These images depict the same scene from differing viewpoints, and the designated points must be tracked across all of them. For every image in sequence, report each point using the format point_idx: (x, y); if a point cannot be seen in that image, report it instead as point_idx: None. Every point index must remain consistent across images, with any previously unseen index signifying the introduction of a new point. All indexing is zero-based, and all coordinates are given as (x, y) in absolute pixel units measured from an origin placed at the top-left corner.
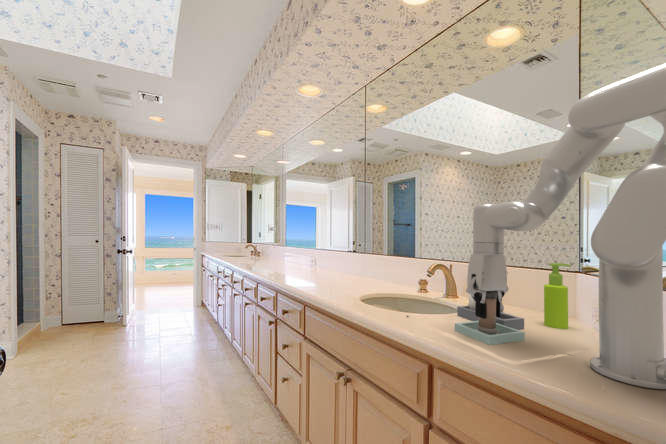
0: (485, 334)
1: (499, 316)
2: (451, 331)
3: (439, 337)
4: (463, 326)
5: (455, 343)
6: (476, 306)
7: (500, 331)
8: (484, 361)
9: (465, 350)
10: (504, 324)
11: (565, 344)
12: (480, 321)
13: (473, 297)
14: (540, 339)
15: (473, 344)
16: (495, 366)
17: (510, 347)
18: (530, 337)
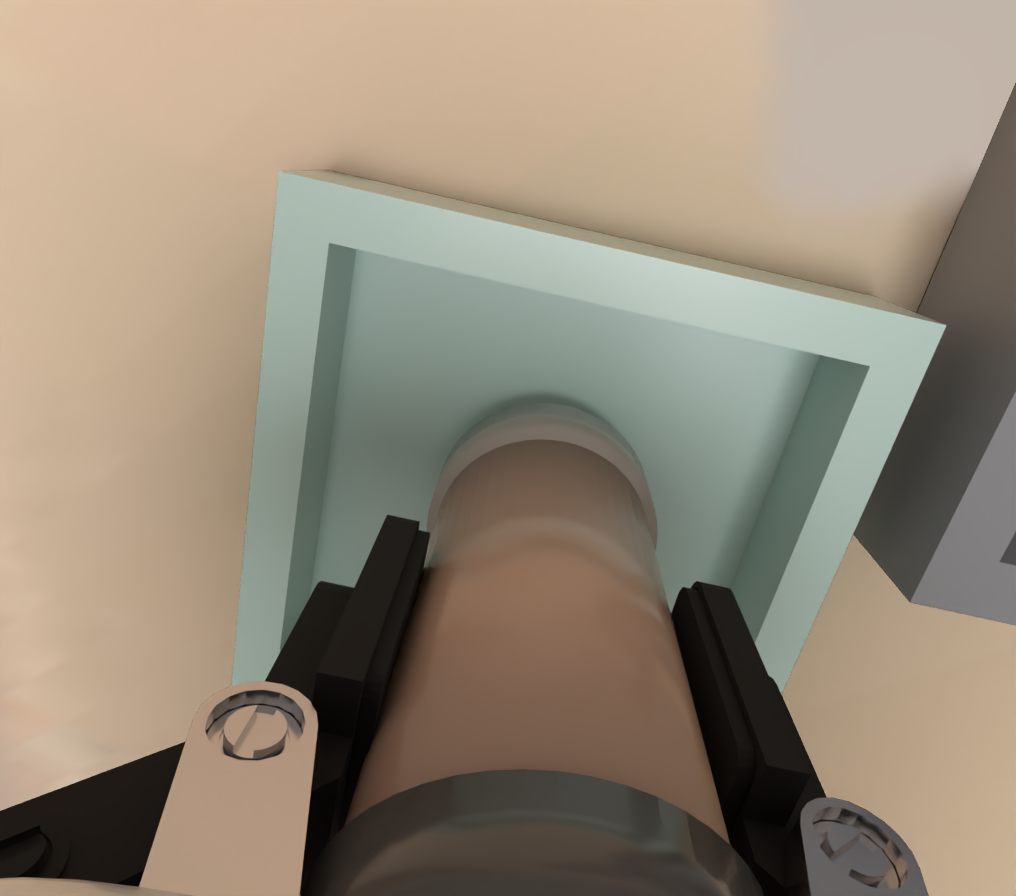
0: (251, 657)
1: None
2: (389, 61)
3: (43, 153)
4: (270, 350)
5: (82, 386)
6: (276, 666)
7: (758, 540)
8: (11, 726)
9: (37, 543)
10: (894, 576)
11: (997, 882)
12: (431, 536)
13: (73, 814)
14: (988, 743)
15: (239, 496)
16: (19, 795)
17: None
18: (984, 676)
